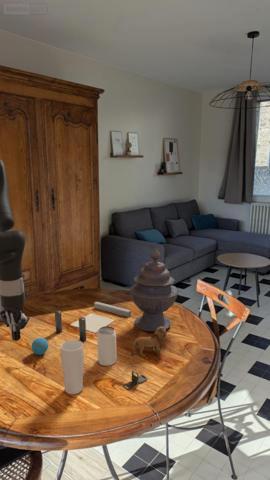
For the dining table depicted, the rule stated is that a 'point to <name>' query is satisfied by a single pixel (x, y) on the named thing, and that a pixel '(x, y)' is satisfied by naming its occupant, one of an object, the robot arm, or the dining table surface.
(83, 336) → the post right
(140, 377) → the strap clip
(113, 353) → the can
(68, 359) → the drinking glass
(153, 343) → the lion figurine
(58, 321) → the post left
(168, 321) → the decorative urn
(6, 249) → the robot arm
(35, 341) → the ball
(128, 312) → the wall
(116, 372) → the dining table surface
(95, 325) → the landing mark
